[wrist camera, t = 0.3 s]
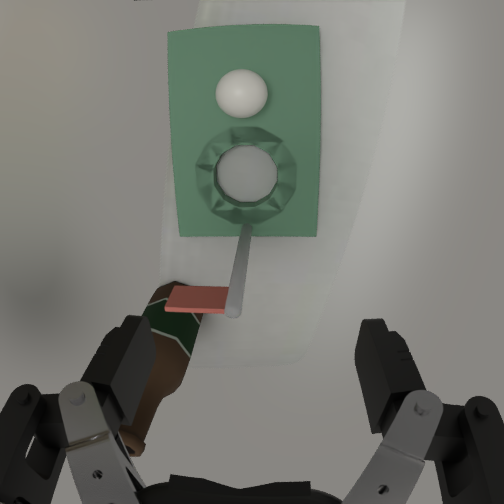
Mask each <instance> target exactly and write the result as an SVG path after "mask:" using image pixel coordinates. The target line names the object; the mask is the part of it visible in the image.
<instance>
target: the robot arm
mask: <svg viewBox="0 0 504 504" xmlns="http://www.w3.org/2000/svg"><path fill="white" fill-rule="evenodd" d="M155 359H156V346H155V342H154V338H153V335H152V331H151V327H150V323H149V320H148V318H147V317H146V316H134V315H128V316H126V318H125V320H124V322H123V323H122V325H121V327H115V328H114V329H112V330H111V331H110V332H109V333H108V334H107V335H106V336H105V338H104V339H103V341H102V342H101V346H99V348H98V350H97V351H96V354H95V355H94V356H93V358H92V360H91V362H90V364H89V365H88V367H87V369H86V371H85V373H84V374H83V377H82V378H81V380H80V381H78V382H73V383H70V384H68V385H67V386H66V387H64V388H63V390H62V391H61V392H60V393H59V394H42V395H41V393H40V392H39V390H38V389H37V387H36V386H34V385H31V384H24V385H21V386H19V387H17V388H16V389H15V390H14V391H13V392H12V393H11V395H10V397H9V398H8V400H7V402H6V404H5V406H4V407H3V409H2V411H1V413H0V504H51V500H52V497H53V494H54V490H55V488H56V484H57V481H58V478H59V475H60V472H61V469H62V466H63V463H64V461H65V458H66V456H67V459H68V463H69V466H70V469H71V473H72V475H73V479H74V482H75V485H76V488H77V490H78V493H79V496H80V499H81V501H82V504H406V502H407V500H408V498H409V496H410V494H411V492H412V490H413V488H414V486H415V484H416V482H417V481H418V478H419V476H420V474H421V472H422V470H423V468H424V465H425V462H424V461H423V460H432V461H434V462H435V466H436V471H437V475H438V480H439V485H440V490H441V496H442V501H443V504H504V423H503V420H502V418H501V415H500V413H499V411H498V408H497V407H496V405H495V403H493V401H491V400H490V399H488V398H486V397H483V396H475V397H472V398H471V399H469V400H468V401H467V403H466V404H465V406H460V405H450V404H444V403H442V402H441V400H440V399H439V397H438V396H436V395H435V394H434V393H432V392H429V391H427V390H426V388H425V386H424V383H423V381H422V379H421V376H420V374H419V371H418V369H417V367H416V364H415V362H414V360H413V358H412V355H411V353H410V352H409V348H408V346H407V344H406V342H405V340H404V339H403V338H402V337H401V336H400V335H399V334H398V333H397V332H396V331H390V332H389V331H388V328H387V326H386V324H385V321H384V320H383V319H364V320H363V321H362V323H361V327H360V331H359V336H358V340H357V344H356V348H355V366H356V369H357V373H358V377H359V381H360V385H361V389H362V393H363V397H364V402H365V406H366V410H367V414H368V418H369V423H370V428H371V432H372V434H375V433H382V436H383V440H382V442H381V444H380V445H379V447H378V449H377V450H376V452H375V454H374V456H373V457H372V459H371V460H370V462H369V464H368V465H367V467H366V468H365V470H364V471H363V473H362V474H361V476H360V478H359V479H358V480H357V482H356V483H355V485H354V486H353V488H352V489H351V491H350V492H349V493H348V495H347V496H346V498H345V499H344V500H343V501H341V500H340V499H338V498H337V497H335V496H333V495H331V494H328V493H326V492H323V491H319V490H315V489H311V487H310V486H311V485H310V481H304V482H274V483H269V484H265V485H260V486H255V487H249V488H243V489H236V488H232V487H229V486H225V485H222V484H219V483H216V482H212V481H209V480H206V479H203V478H194V477H186V476H178V475H172V474H171V475H170V479H169V482H164V483H158V484H154V485H151V486H148V487H146V485H145V484H144V482H143V480H142V479H141V477H140V475H139V474H138V472H137V470H136V468H135V466H134V464H133V462H132V460H131V458H130V456H129V454H128V451H127V449H126V447H125V445H124V443H123V440H122V438H121V436H120V434H119V432H118V430H119V428H120V425H121V424H123V425H128V426H131V425H132V422H133V420H134V417H135V414H136V411H137V408H138V405H139V403H140V400H141V397H142V394H143V392H144V389H145V386H146V383H147V381H148V378H149V375H150V373H151V370H152V367H153V365H154V362H155ZM33 436H34V437H35V438H34V441H33V443H32V446H31V448H30V450H29V452H28V455H27V457H26V458H25V456H26V452H27V449H28V447H29V444H30V442H31V440H32V437H33Z"/></svg>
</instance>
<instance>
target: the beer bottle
mask: <svg viewBox="0 0 504 504" xmlns="http://www.w3.org/2000/svg"><path fill="white" fill-rule="evenodd" d="M174 286H187V285H184V284H181V283H178V282H176V281H175V282H172V283H170V284H167V285H165V286H162V287H160V288H157V290H156V291H155V293H154V294H153V296H152V298H151V299H150V301H149V303H148V305H147V307H146V309H145V311H144V313H143V314H142V316H146V317H147V318H148V320H149V323H150V327H151V331H152V335H153V338H154V342H155V346H156V359H155V362H154V365H153V367H152V370H151V373H150V375H149V378H148V381H147V383H146V386H145V389H144V392H143V394H142V397H141V400H140V403H139V405H138V408H137V411H136V414H135V417H134V420H133V422H132V425H131V426H128V425H123V424H121V425H120V428H119V430H118V432H119V434H120V436H121V438H122V440H123V443H124V445H125V447H126V449H127V451H128V454H129V456H130V457H131V456H132V457H135V456H136V457H138V456H141V454H142V453H143V451H144V449H145V445H146V444H145V443H144V440H145V437H146V435H147V432H148V430H149V427H150V425H151V422H152V420H153V417H154V415H155V412H156V410H157V407H158V406H159V404H160V402H161V400H162V399H163V398H164V397H166V396H168V395H170V394H172V393H173V392H175V390H176V389H177V388H178V387H179V386H180V385H181V383H182V380H183V377H184V375H185V372H186V369H187V367H188V364H189V361H190V358H191V354H192V351H193V347H194V344H195V340H196V337H197V333H198V330H199V326H200V323H201V319H202V316H203V313H190V312H168V311H165V305H166V303H167V300H168V298H169V296H170V294H171V292H172V290H173V288H174Z"/></svg>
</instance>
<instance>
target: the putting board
mask: <svg viewBox="0 0 504 504" xmlns="http://www.w3.org/2000/svg"><path fill="white" fill-rule="evenodd" d="M237 69H247V70H251V71H253V72H255V73H257V74H258V75H259V76H260V77H261V78H262V79H263V80H264V82H265V84H266V86H267V90H268V97H267V101H266V103H265V105H264V107H263V108H262V109H261V110H260V111H259V112H258V113H257V114H255V115H253V116H251V117H247V118H235V117H232V116H230V115H228V114H226V113H225V112H224V111H223V110H222V109H221V108H220V107H219V105H218V103H217V101H216V95H215V94H216V87H217V84H218V82H219V81H220V79H221V78H222V77H223V76H224V75H225V74H227V73H228V72H230V71H233V70H237ZM168 85H169V109H170V128H171V144H172V158H173V171H174V183H175V194H176V205H177V215H178V224H179V233H180V237H190V236H240V238H239V242H238V247H237V252H236V256H235V261H234V266H233V271H232V275H231V280H230V285H229V287H212V286H174V288H173V290H172V292H171V294H170V296H169V298H168V300H167V303H166V305H165V311H168V312H190V313H219V314H225V315H226V316H227V317H229V318H237V317H239V316H240V315H241V310H242V302H243V295H244V287H245V279H246V272H247V264H248V256H249V249H250V241H251V236H301V237H316V233H317V215H318V195H319V170H320V125H321V78H320V37H319V26H312V25H290V24H252V25H229V26H216V27H205V28H195V29H187V30H179V31H173V32H168ZM235 145H255V146H257V147H258V148H260V149H262V150H264V151H266V152H267V153H269V154H270V156H271V157H272V159H273V161H274V162H275V164H276V166H277V182H276V184H275V186H274V187H273V189H272V191H271V192H270V194H269V195H267V196H266V197H264V198H262V199H260V200H258V201H257V202H238V201H236V200H234V199H232V198H230V197H229V196H227V195H225V194H224V192H223V190H222V189H221V187H220V186H219V184H218V183H217V177H216V165H217V163H218V161H219V159H220V157H221V155H222V154H223V153H224V152H225V151H227V150H229V149H230V148H232V147H234V146H235Z"/></svg>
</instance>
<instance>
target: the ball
mask: <svg viewBox="0 0 504 504" xmlns="http://www.w3.org/2000/svg"><path fill="white" fill-rule="evenodd" d="M215 95H216V101H217V103H218V105H219V107H220V108H221V109H222V110H223V111H224V112H225V113H226V114H228V115H230V116H232V117H235V118H247V117H251V116H253V115H255V114H257V113H258V112H259V111H260V110H261V109H262V108H263V107H264V105H265V103H266V101H267V97H268V90H267V86H266V84H265V82H264V80H263V79H262V78H261V77H260V76H259V75H258V74H257V73H255V72H253V71H251V70H247V69H237V70H233V71H230V72H228V73H227V74H225V75H224V76H223V77H222V78H221V79H220V81H219V82H218V84H217V87H216V94H215Z"/></svg>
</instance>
